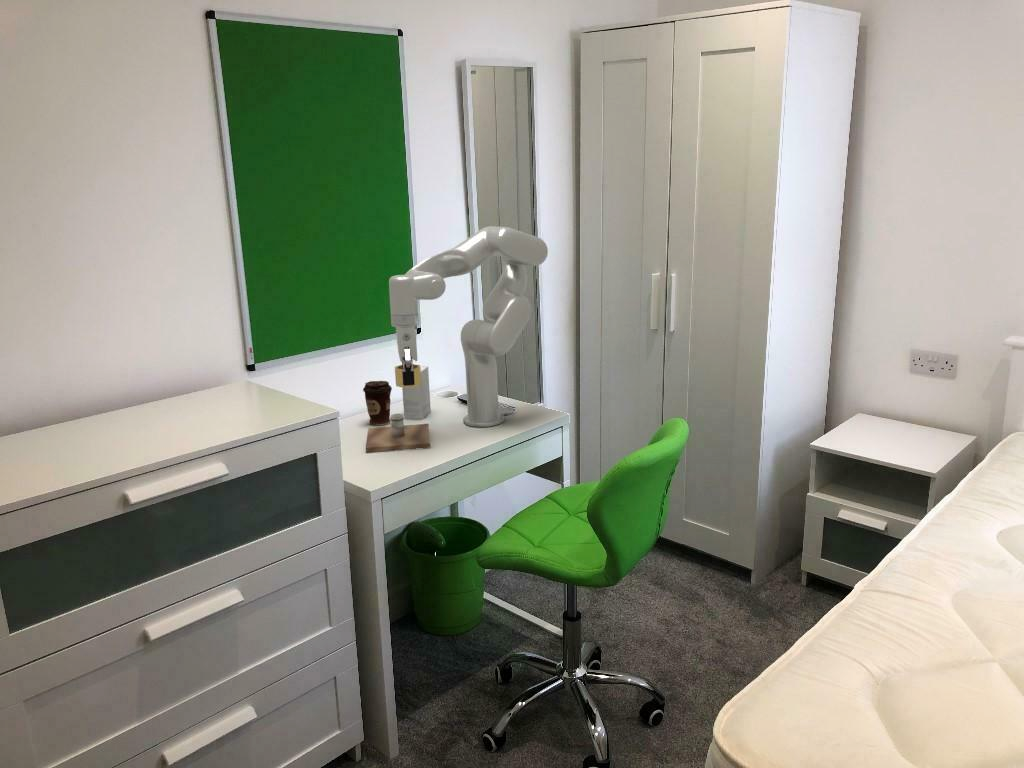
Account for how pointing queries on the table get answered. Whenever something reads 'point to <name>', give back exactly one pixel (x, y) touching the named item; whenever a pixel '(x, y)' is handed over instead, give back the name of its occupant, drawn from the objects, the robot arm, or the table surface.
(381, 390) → the coffee cup
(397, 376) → the brass ring
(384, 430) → the post board
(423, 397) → the skincare box
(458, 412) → the table surface
